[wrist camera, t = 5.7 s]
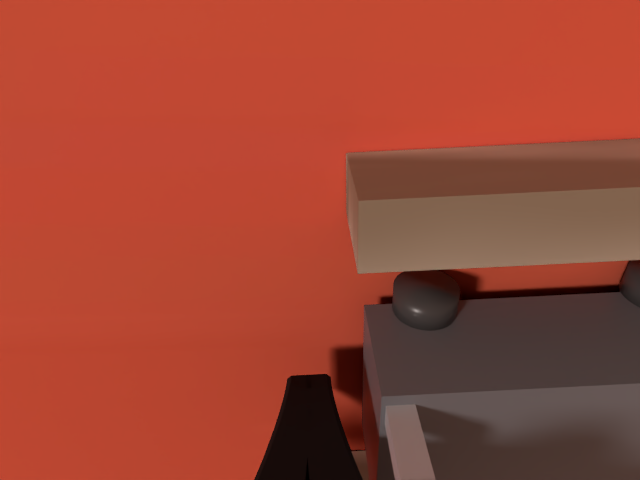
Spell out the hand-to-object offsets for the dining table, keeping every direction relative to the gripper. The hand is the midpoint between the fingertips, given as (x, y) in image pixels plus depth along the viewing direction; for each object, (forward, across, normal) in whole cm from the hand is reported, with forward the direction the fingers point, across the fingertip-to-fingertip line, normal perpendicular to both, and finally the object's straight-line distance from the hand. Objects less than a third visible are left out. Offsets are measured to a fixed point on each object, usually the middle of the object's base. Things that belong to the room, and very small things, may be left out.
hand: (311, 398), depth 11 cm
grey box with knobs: (+1, -6, 0) cm, 6 cm away
